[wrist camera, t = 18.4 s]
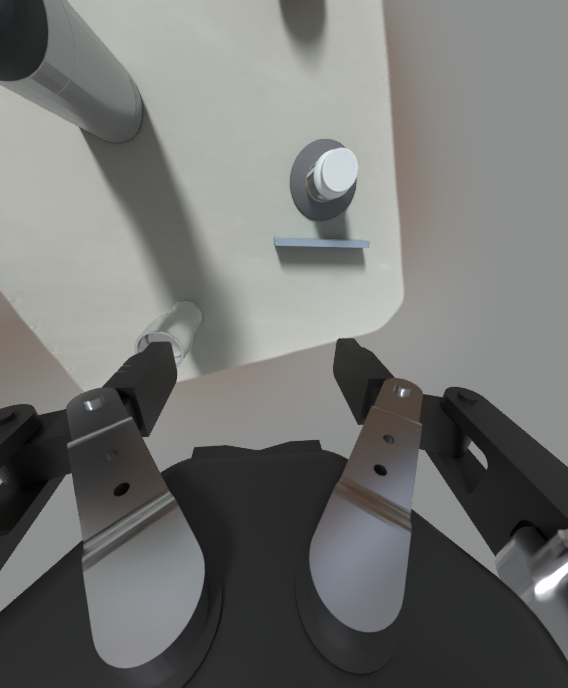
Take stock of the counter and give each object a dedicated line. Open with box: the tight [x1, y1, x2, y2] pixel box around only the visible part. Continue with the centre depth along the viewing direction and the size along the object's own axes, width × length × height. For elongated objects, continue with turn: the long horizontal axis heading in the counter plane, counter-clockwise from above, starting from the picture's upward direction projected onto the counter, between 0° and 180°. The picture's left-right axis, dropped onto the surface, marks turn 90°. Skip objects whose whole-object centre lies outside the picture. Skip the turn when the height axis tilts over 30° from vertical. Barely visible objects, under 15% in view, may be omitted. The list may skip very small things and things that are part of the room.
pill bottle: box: [306, 148, 358, 202], centre depth 35 cm, size 6×6×10 cm
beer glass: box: [135, 301, 202, 367], centre depth 41 cm, size 7×7×15 cm
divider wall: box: [274, 237, 370, 248], centre depth 42 cm, size 16×1×4 cm, turn 88°
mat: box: [290, 139, 357, 220], centre depth 39 cm, size 11×11×1 cm
